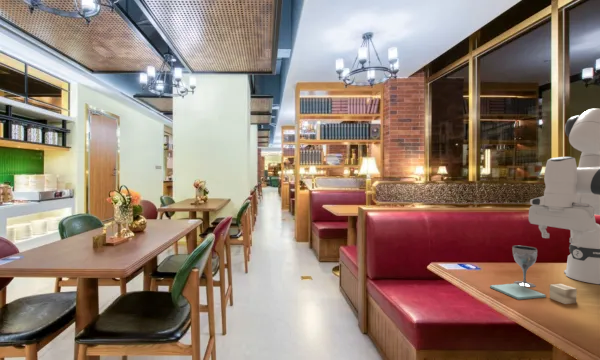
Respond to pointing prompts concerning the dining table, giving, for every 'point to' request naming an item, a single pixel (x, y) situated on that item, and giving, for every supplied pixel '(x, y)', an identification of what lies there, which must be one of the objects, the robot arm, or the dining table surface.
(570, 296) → the cube
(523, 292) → the pad
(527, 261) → the wine glass
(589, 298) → the dining table surface
